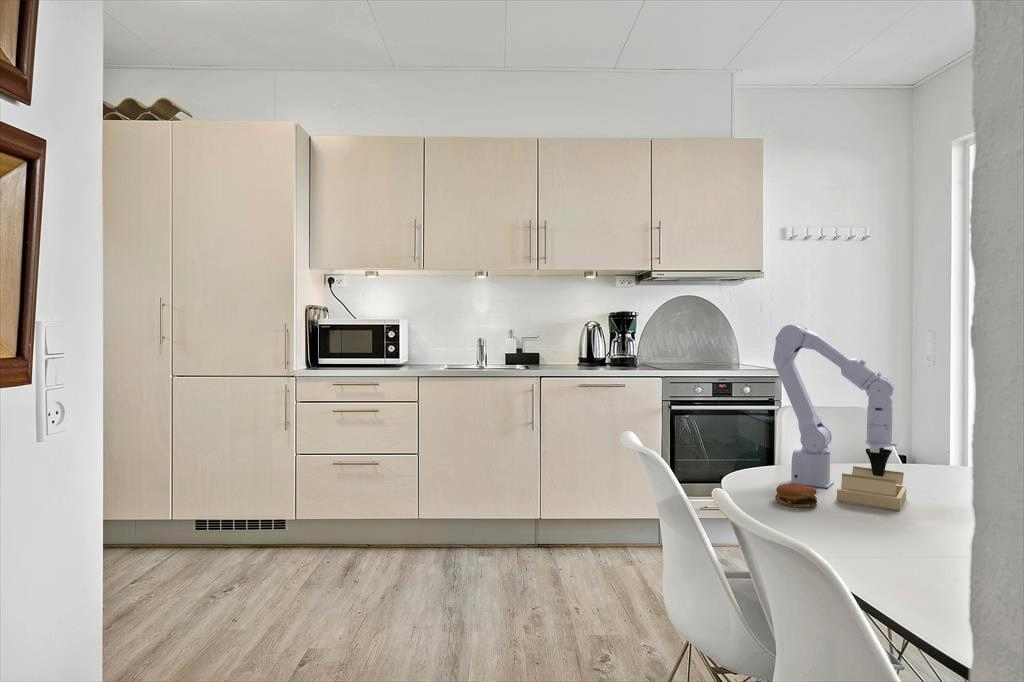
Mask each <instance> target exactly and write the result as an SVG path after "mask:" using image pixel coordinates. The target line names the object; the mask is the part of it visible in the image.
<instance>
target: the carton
mask: <svg viewBox="0 0 1024 682" xmlns="http://www.w3.org/2000/svg"><path fill="white" fill-rule="evenodd" d="M906 500H907V487H906V486H903V485H898V484H896V493H895V496H894V495H887V494H880V493H874V492H867V491H860V490H853V489H846V488H841V485H840V486H839V487H838V488H837V489H836V501H838V503H843V502H845V504H849V503H852V505H855V504H858V506H862V505H864V507H868V506H870V508H875V507H876V509H881V508H882V509H883V510H888V511H889V510H890V511H894V512H899V511H901V509H902V507H903V505H904V503H905V501H906Z"/></svg>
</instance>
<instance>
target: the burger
mask: <svg viewBox="0 0 1024 682" xmlns="http://www.w3.org/2000/svg"><path fill="white" fill-rule="evenodd" d="M815 495H817V490H816V488H815V487H814V486H809V485H803V484H796V483H791V482H790V483H782V484H779V485H778V486H777V487H776V495H775V496H774V499H775V502H776V501H777V502H778V503H777V502H776V503H777V504H779V503H781V504H780V505H783V504H785V505H784V506H788V505H791V506H790V507H793V506H796V507H795V508H813V507H815V505H818V498H817V496H815Z"/></svg>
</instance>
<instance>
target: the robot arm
mask: <svg viewBox="0 0 1024 682" xmlns="http://www.w3.org/2000/svg"><path fill="white" fill-rule="evenodd" d="M801 349H807V350H813V351H815V352H816V353H818V354H820V355H822V356H823V357H824V358H825V359H827V360H829V361H830V362H832V364H834V365H835V366H837V367H838V368H840V374H841V376H843V377H844V378H845V379H846V380H848V381H849V382H850V383H852V384H853V385H854V386H856V387H857V388H859V389H860V390H862V391H865V392H866V395H867V397H868V405H867V408H866V410H867V412H866V414H867V415H866V418H867V419H866V440H865V445H867V446H869V448H866V449H865V453H866V455H867V457H868V459H869V463H870V468H871V469H872V473H873V476H881V477H883V475H884V472H885V470H886V466H887V463H888V460H889V458H890V456H891V454H892V453H893V451H892V449H886V448H888V447H897V446H898V442H893V409H894V408H893V407H892V406H893V399H892V396H893V394H894V392H895V390H894V385H893V384H892V382H891V381H889V379H888V378H886V377H882V376H883V374H882V373H881V372H879V371H878V372H876V371H875V370H873V369H872V368H870V367H869V366H868V365H867V364H866V363H867V361H865V360H864V359H859V358H848V356H846V355H845V354H844V353H842V352H841V351H839V349H837V348H836V347H834V346H833V345H832V344H831V343H829V342H828V341H827V340H826V339H824V338H823V337H822V336H820V335H819V334H818V333H816V332H814V331H813V330H811V329H808V328H807V327H806V326H804V325H802V324H787V325H785V326H783V327H782V328H781V329H780V330H779V332H778V333H777V335H776V337H775V345H774V351H773V357H772V360H773V361H772V362H773V364H774V366H775V369H776V371H777V374H778V375H779V378H780V380H781V384H782V385H783V388H784V391H785V392H786V396H788V397H787V398H788V400H789V402H790V404H791V407H792V409H793V411H794V413H795V416H796V418H797V422H798V424H797V425H798V429H799V433H800V439H799V440H800V444H801V446H802V447H801V449H796V448H795V449H794V450H793V452H792V454H791V455H792V456H791V471H790V473H791V474H790V475H791V477H790V479H791V481H790V483H795V484H803V485H807V486H810V487H816V488H817V487H818V488H824V489H829V487H831V486H832V485H833V484H834V483H835V481H834V480H831V478H830V477H831V449H829V446H828V445H829V444H830V443H831V442H832V435H833V434H832V433H831V431H830V429H829V428H827V427H826V425H825V424H824V423H823V421H822V419H821V417H820V416H819V415H818V414H817V412H816V409H815V407H814V405H813V403H812V400H811V398H810V396H809V393H808V391H807V388H806V386H805V383H804V382H803V379H802V377H801V375H800V373H799V370H798V368H797V366H796V363H795V360H796V358H797V355H798V354H799V351H800V350H801Z"/></svg>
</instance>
